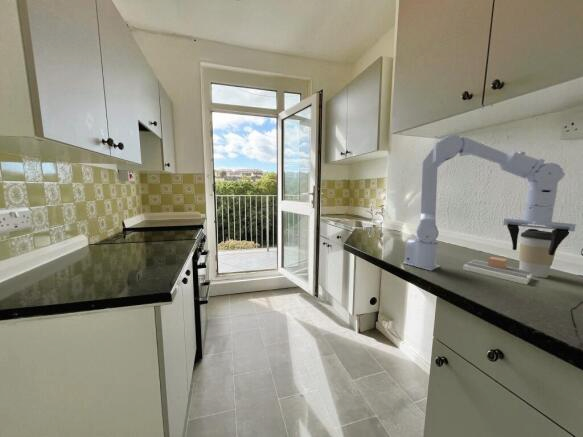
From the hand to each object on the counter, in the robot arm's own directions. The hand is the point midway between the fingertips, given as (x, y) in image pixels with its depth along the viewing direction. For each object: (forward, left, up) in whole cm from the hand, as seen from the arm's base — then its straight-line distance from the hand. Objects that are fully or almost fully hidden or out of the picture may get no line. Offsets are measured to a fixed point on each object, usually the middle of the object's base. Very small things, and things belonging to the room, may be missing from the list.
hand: (532, 252), depth 71 cm
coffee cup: (0, +15, -10) cm, 18 cm away
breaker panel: (-8, +3, -10) cm, 13 cm away
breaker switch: (-8, +3, -8) cm, 11 cm away
